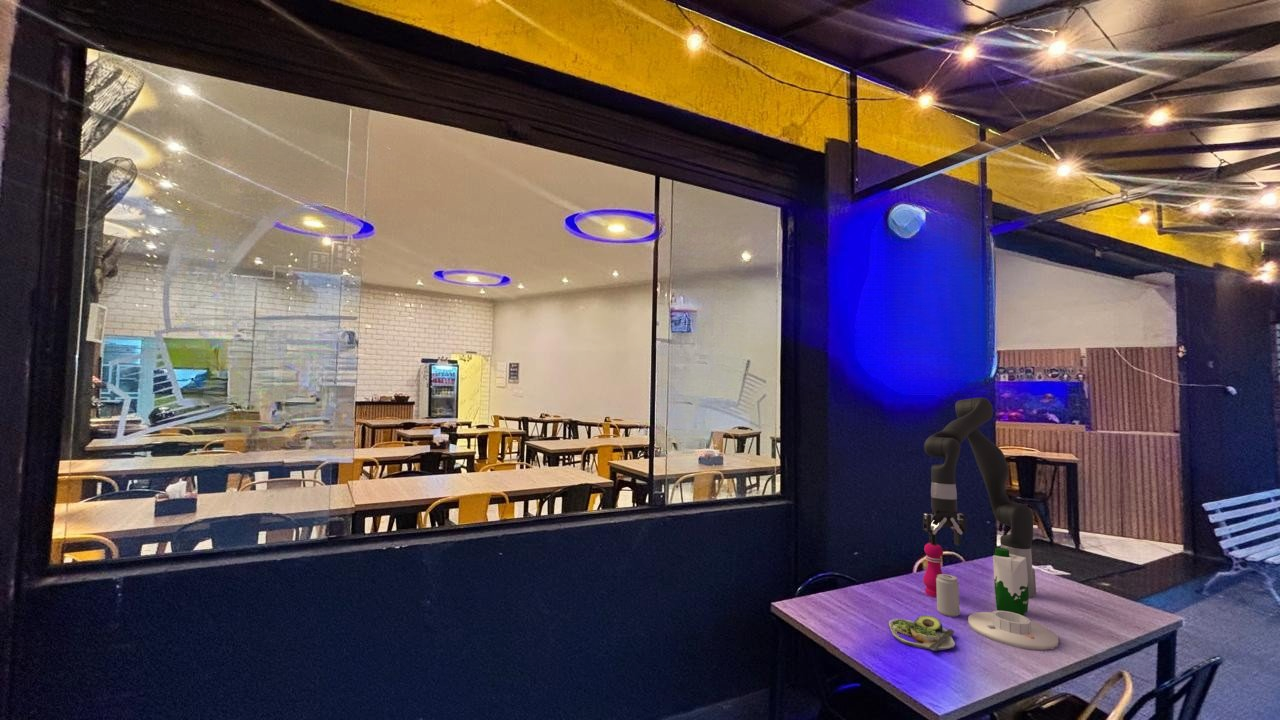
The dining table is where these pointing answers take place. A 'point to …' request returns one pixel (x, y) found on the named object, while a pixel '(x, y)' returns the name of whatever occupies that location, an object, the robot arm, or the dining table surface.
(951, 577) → the beverage can
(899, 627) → the salad plate
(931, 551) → the pepper mill
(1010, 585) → the milk carton
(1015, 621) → the twist-lock holder
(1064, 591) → the dining table surface
